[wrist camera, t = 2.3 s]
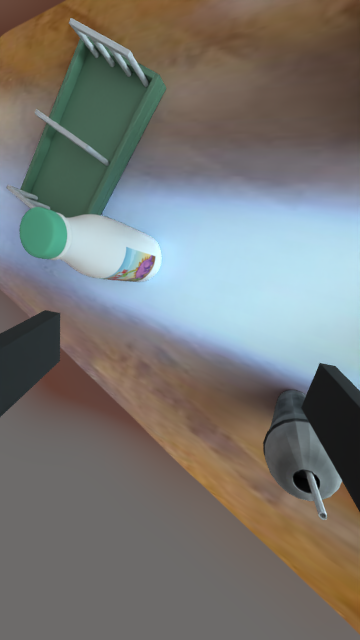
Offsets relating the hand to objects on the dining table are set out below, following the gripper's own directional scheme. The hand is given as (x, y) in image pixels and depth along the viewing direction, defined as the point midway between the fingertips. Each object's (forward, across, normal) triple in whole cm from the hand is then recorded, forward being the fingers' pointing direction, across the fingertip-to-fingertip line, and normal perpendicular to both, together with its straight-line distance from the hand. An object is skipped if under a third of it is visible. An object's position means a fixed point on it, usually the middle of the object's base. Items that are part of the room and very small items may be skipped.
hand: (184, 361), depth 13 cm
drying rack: (+38, -22, +15) cm, 46 cm away
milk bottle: (+31, -9, 0) cm, 32 cm away
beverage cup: (+19, +17, -14) cm, 30 cm away
